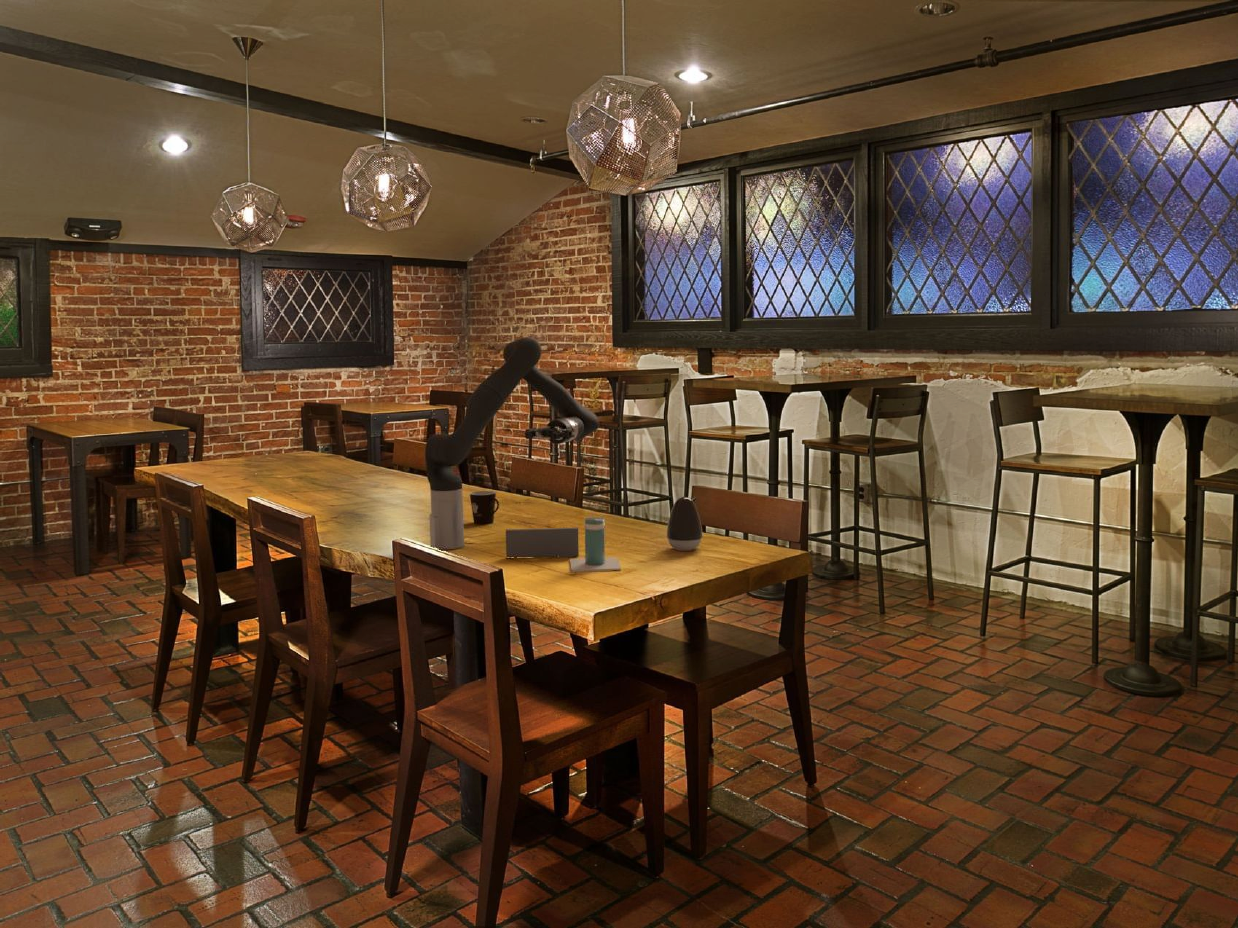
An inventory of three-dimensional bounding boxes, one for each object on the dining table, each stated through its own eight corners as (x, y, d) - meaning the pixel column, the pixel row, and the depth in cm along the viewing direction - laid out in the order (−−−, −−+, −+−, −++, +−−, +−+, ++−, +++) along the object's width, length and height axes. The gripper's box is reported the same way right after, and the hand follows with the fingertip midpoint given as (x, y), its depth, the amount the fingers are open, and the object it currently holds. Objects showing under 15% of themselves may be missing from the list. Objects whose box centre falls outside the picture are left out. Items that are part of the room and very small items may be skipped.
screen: (506, 558, 275) (505, 530, 274) (506, 557, 277) (505, 529, 276) (578, 556, 277) (578, 528, 276) (578, 555, 278) (577, 527, 277)
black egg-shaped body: (710, 548, 285) (709, 496, 283) (687, 554, 278) (687, 501, 276) (682, 543, 292) (681, 492, 290) (659, 549, 284) (659, 497, 282)
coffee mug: (468, 521, 331) (467, 491, 330) (493, 519, 334) (492, 490, 333) (475, 527, 321) (474, 497, 319) (501, 525, 324) (500, 495, 322)
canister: (589, 566, 262) (589, 521, 261) (581, 562, 267) (581, 518, 266) (608, 564, 265) (608, 520, 263) (600, 560, 270) (599, 516, 268)
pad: (571, 572, 259) (571, 569, 259) (570, 560, 272) (570, 558, 272) (621, 570, 260) (621, 568, 260) (617, 559, 273) (617, 557, 273)
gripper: (541, 418, 309) (517, 422, 294) (583, 418, 304) (561, 423, 289) (541, 442, 310) (518, 447, 295) (583, 443, 305) (562, 449, 290)
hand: (539, 435), depth 292 cm, fingers open, 8 cm apart
